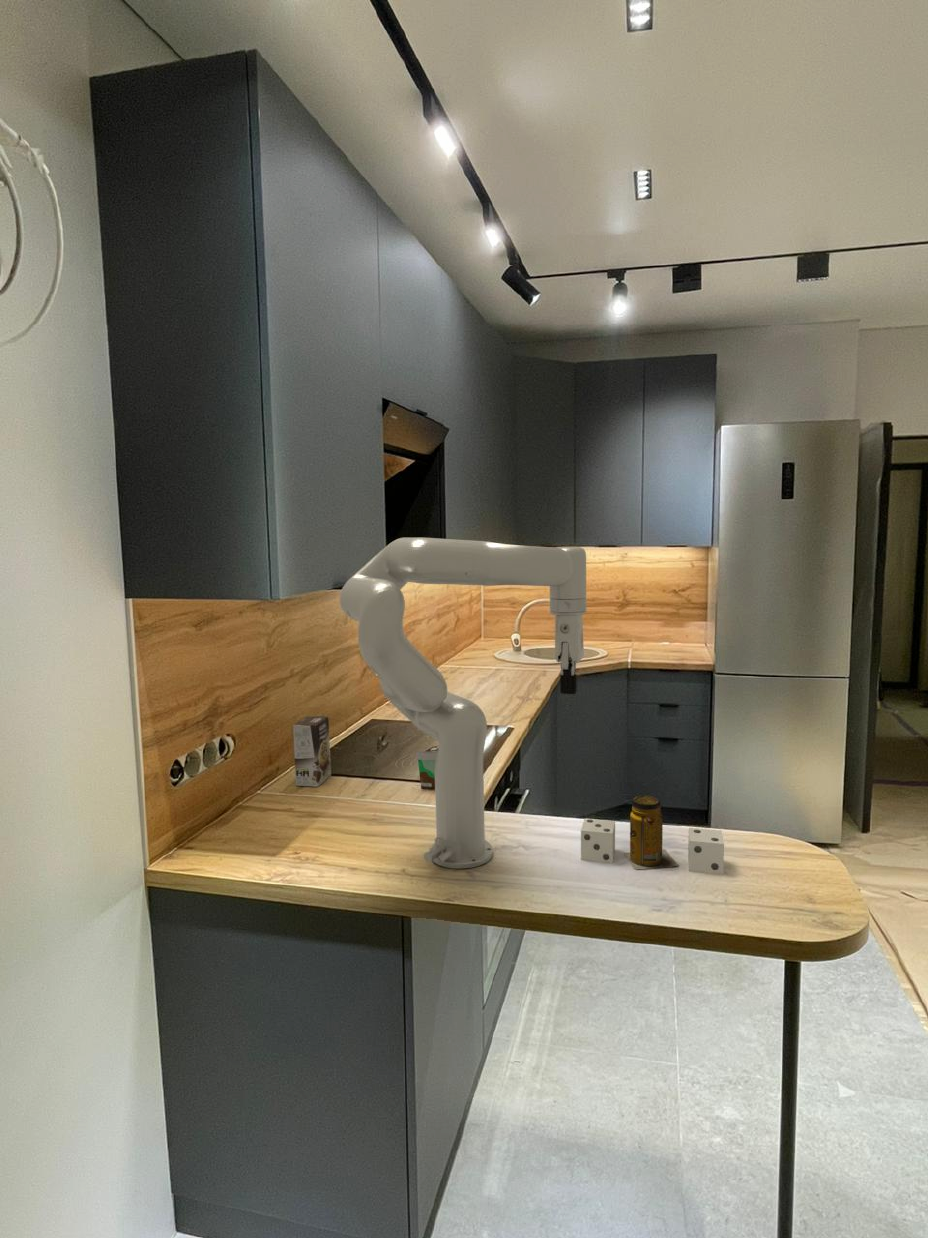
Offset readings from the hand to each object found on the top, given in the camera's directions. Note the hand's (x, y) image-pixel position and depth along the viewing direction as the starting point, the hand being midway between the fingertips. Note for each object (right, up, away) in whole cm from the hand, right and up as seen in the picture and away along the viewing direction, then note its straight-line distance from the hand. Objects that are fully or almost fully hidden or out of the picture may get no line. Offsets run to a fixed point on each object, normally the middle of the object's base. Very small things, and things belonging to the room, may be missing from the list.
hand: (568, 692), depth 152 cm
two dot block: (+23, -31, -16) cm, 42 cm away
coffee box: (-61, -27, +35) cm, 75 cm away
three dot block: (+4, -31, -11) cm, 33 cm away
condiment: (+14, -31, -13) cm, 37 cm away
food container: (-27, -27, +30) cm, 48 cm away
